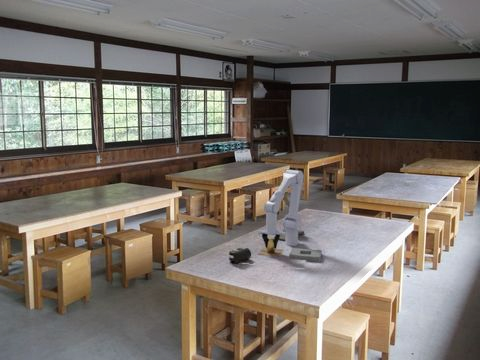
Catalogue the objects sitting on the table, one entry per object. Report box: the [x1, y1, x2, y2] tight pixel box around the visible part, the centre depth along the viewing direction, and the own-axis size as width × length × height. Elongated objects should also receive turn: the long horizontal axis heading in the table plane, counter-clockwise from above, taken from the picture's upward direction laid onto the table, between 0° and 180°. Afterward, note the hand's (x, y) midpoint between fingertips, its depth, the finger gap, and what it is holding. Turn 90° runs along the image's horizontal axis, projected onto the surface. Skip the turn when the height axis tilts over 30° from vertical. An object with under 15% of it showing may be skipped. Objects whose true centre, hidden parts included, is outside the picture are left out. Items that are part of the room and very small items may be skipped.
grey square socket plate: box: [288, 247, 322, 263], centre depth 251 cm, size 12×16×2 cm
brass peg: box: [267, 237, 275, 253], centre depth 255 cm, size 4×4×7 cm
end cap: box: [228, 247, 252, 265], centre depth 241 cm, size 10×7×7 cm
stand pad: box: [257, 247, 284, 257], centre depth 256 cm, size 12×12×1 cm
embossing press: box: [273, 192, 305, 242], centre depth 287 cm, size 11×24×30 cm, turn 144°
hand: (271, 247), depth 256 cm, fingers closed on brass peg, 4 cm apart
